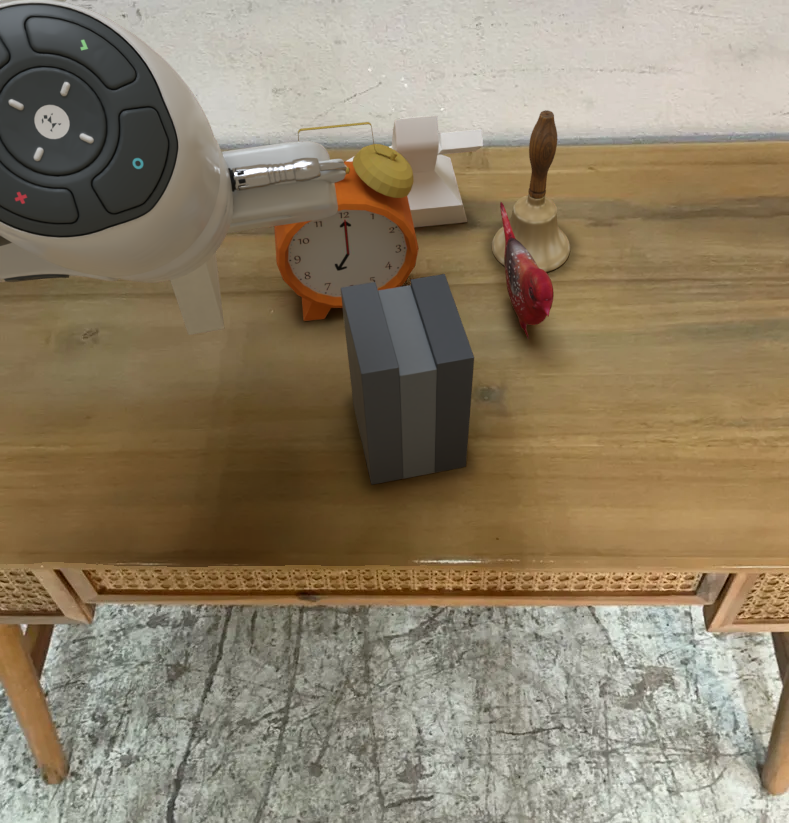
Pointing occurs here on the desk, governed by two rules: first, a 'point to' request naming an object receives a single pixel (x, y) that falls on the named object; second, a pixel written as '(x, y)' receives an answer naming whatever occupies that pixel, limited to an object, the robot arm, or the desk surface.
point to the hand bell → (538, 205)
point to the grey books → (409, 377)
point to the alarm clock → (353, 233)
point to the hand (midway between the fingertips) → (178, 220)
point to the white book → (200, 298)
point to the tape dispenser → (433, 168)
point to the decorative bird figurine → (525, 280)
